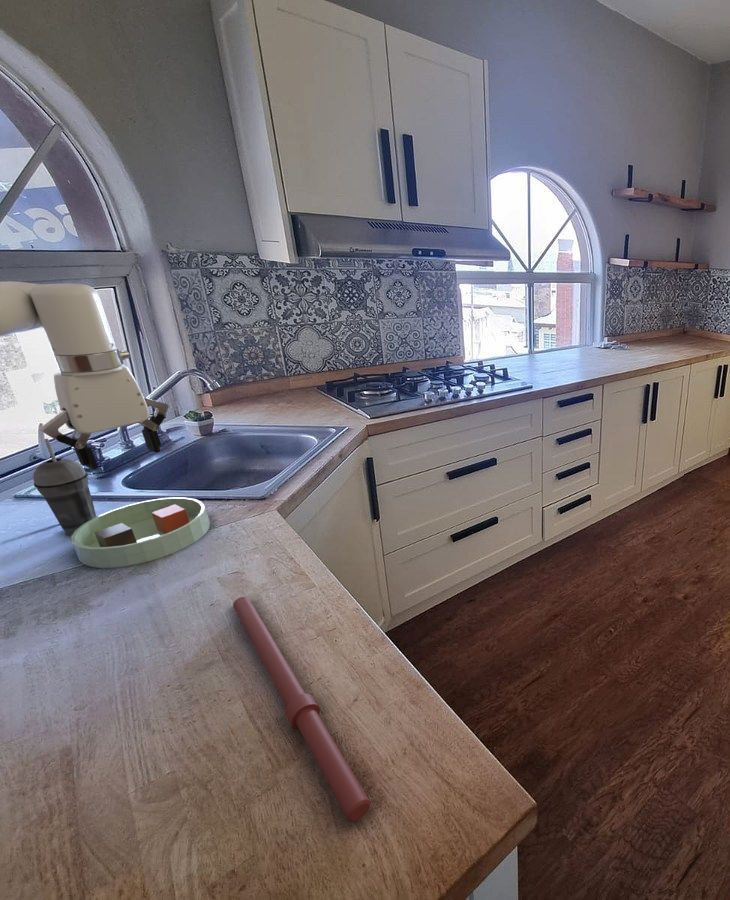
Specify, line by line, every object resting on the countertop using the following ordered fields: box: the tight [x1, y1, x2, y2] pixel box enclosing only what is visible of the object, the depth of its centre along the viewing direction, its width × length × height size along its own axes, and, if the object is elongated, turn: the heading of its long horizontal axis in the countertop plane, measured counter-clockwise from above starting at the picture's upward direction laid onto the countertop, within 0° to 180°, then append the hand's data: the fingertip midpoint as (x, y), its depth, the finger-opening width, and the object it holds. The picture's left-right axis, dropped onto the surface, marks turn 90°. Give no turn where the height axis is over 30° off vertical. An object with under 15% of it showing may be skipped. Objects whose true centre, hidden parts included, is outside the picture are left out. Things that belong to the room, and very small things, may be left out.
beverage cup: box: [32, 438, 97, 536], centre depth 96 cm, size 7×7×20 cm
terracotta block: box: [152, 505, 189, 534], centre depth 100 cm, size 4×4×4 cm
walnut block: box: [95, 523, 137, 547], centre depth 92 cm, size 4×4×4 cm
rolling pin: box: [232, 596, 371, 822], centre depth 65 cm, size 45×3×3 cm, turn 46°
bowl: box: [70, 496, 211, 569], centre depth 96 cm, size 19×19×4 cm
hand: (124, 458), depth 89 cm, fingers open, 8 cm apart
